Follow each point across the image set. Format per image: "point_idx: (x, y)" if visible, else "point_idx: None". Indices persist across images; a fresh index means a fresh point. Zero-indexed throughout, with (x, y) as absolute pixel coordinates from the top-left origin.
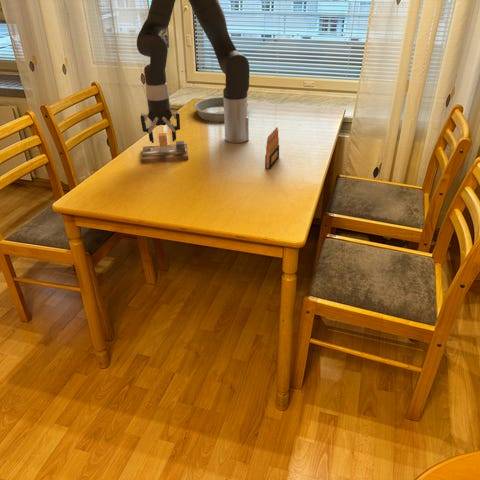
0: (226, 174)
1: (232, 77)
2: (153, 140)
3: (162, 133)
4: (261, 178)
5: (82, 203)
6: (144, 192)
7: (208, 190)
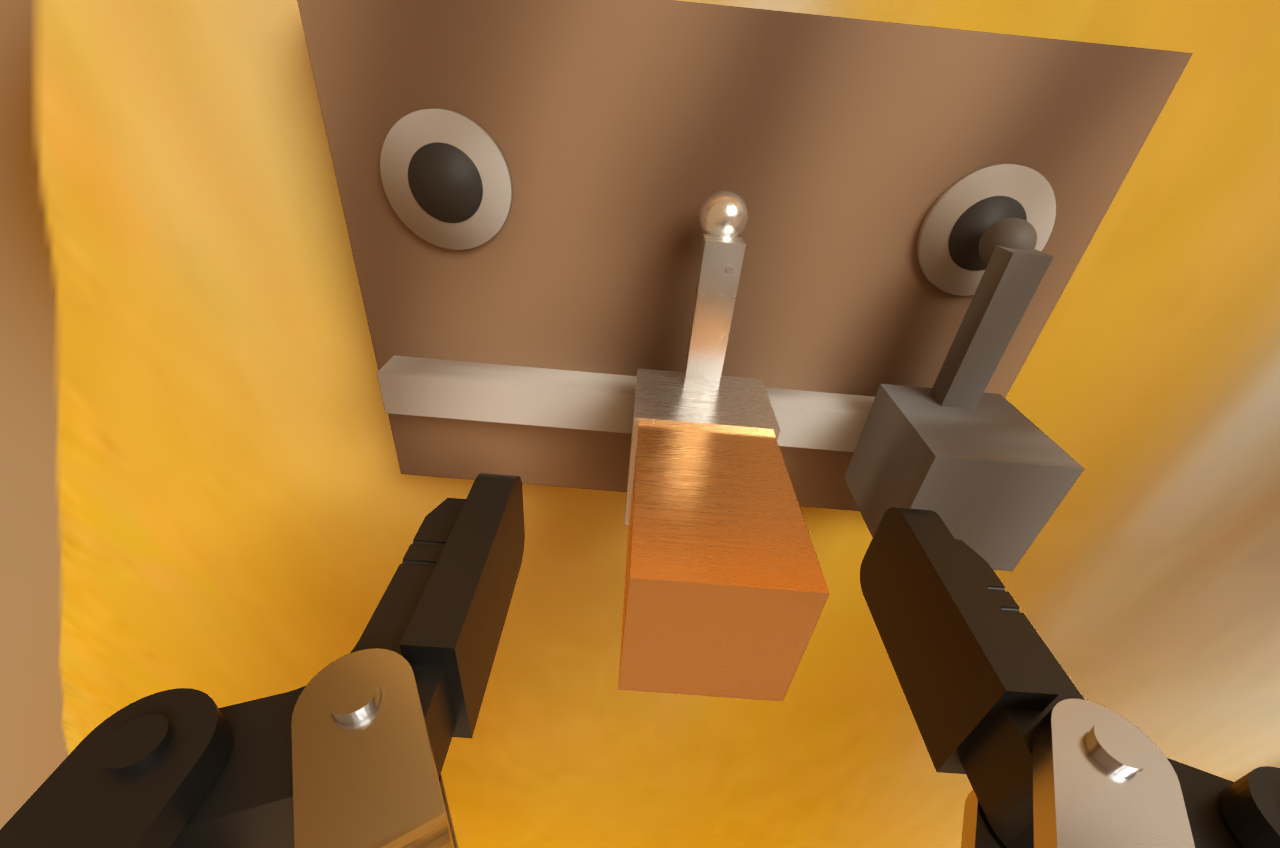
0: None
1: None
2: (515, 539)
3: (725, 593)
4: None
5: None
6: (514, 769)
7: (855, 808)
